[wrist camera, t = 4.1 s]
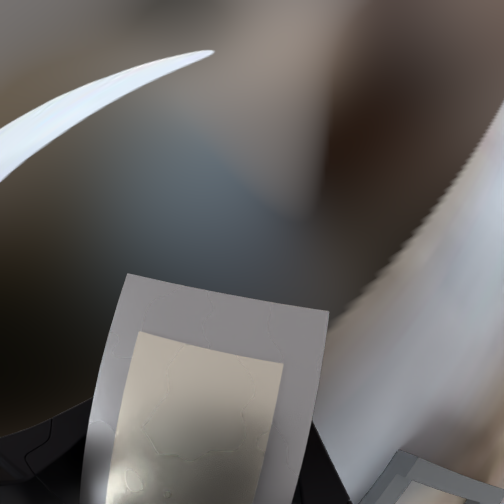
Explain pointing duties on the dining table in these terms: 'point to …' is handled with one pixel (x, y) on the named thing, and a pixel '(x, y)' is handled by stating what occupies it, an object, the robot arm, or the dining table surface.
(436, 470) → the dock
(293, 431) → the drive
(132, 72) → the dining table surface
